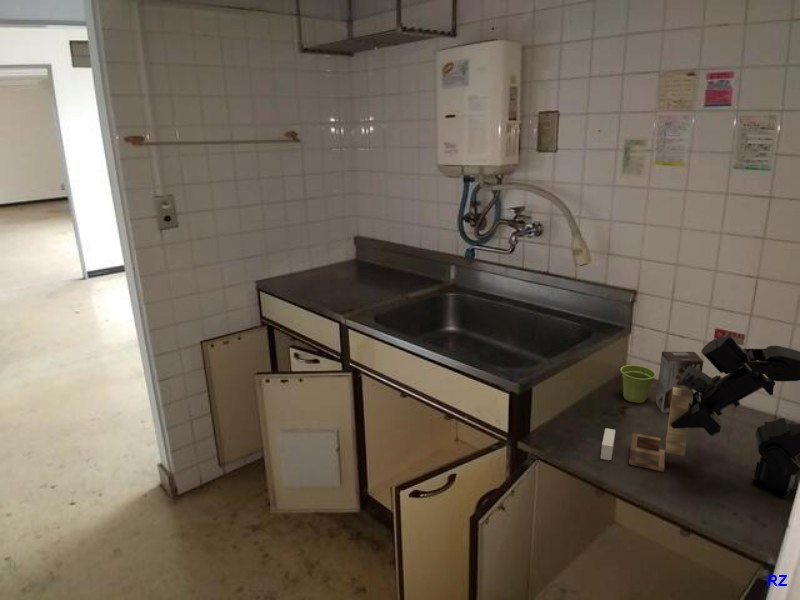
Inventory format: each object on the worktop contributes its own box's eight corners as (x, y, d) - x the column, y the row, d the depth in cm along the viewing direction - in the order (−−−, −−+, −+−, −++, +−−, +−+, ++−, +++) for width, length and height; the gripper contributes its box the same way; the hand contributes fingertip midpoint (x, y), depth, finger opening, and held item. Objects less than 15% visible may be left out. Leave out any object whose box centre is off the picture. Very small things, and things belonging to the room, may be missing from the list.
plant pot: (635, 388, 168) (638, 362, 165) (659, 402, 160) (663, 375, 157) (610, 394, 165) (613, 368, 162) (634, 408, 157) (637, 381, 154)
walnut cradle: (664, 453, 136) (666, 439, 134) (663, 471, 129) (666, 456, 127) (630, 446, 139) (632, 432, 137) (628, 464, 132) (630, 449, 131)
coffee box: (687, 402, 159) (695, 351, 154) (696, 414, 153) (705, 360, 148) (654, 401, 160) (661, 350, 155) (662, 413, 154) (669, 360, 149)
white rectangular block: (613, 443, 140) (615, 430, 139) (610, 460, 133) (612, 446, 132) (603, 441, 141) (605, 428, 140) (600, 458, 134) (602, 444, 133)
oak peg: (684, 446, 131) (692, 390, 126) (684, 455, 128) (692, 397, 123) (665, 443, 133) (672, 387, 128) (665, 452, 129) (673, 394, 125)
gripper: (705, 344, 129) (649, 379, 137) (710, 377, 113) (646, 414, 121) (739, 380, 128) (680, 413, 136) (749, 418, 112) (681, 453, 120)
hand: (671, 422), depth 128 cm, fingers closed on oak peg, 4 cm apart
